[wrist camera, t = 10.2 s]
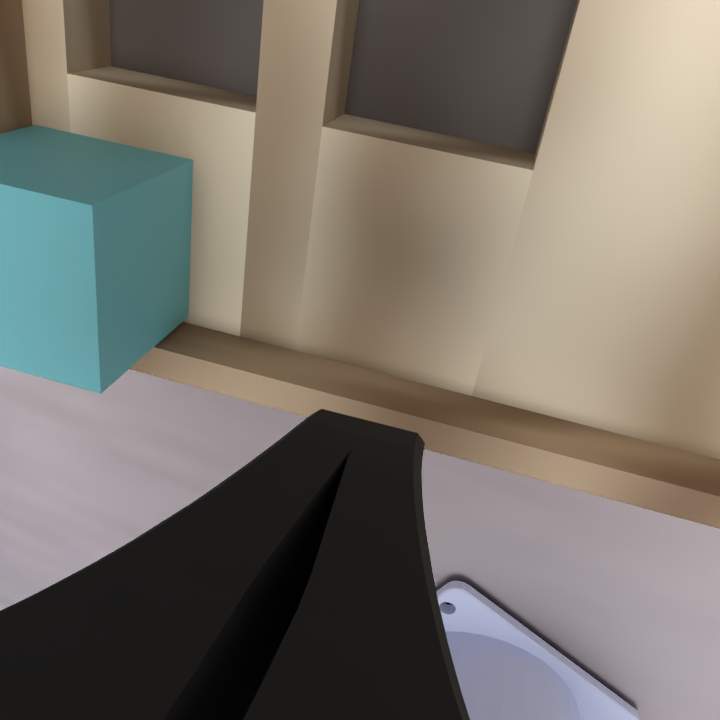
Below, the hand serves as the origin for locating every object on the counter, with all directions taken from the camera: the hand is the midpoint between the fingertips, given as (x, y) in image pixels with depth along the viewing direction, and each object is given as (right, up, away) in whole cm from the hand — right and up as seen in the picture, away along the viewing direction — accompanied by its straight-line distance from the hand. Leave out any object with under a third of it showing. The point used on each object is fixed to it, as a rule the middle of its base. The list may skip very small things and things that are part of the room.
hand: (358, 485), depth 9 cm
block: (-6, +5, +8) cm, 11 cm away
